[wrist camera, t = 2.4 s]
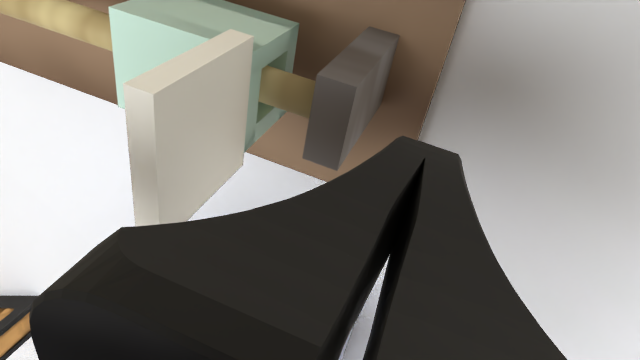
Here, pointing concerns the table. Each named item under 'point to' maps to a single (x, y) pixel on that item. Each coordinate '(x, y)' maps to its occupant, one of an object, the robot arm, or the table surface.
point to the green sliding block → (192, 95)
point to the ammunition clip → (14, 323)
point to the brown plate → (277, 85)
